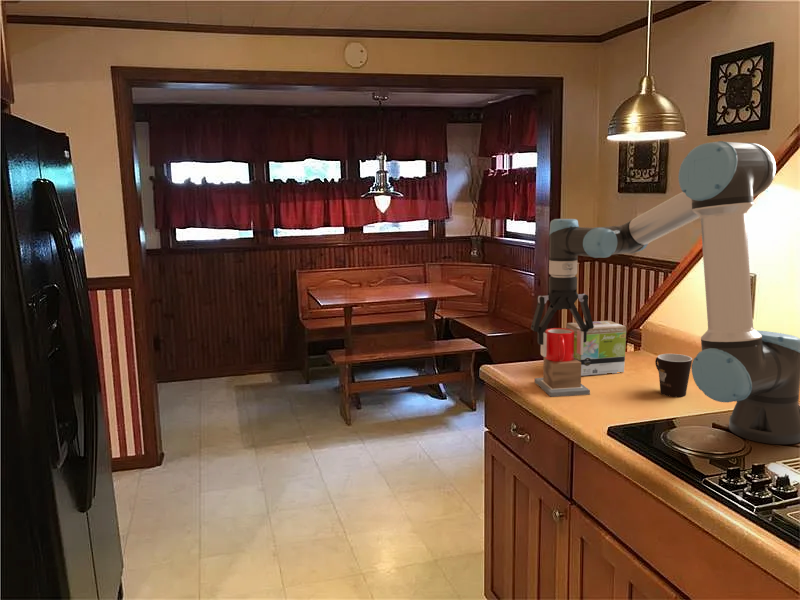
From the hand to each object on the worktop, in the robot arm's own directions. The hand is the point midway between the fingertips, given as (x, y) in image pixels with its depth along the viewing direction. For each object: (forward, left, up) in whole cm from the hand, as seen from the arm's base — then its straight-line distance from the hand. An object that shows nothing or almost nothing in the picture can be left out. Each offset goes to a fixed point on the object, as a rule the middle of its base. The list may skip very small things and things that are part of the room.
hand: (561, 354), depth 185 cm
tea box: (+15, -16, -10) cm, 24 cm away
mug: (0, 0, -2) cm, 2 cm away
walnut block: (0, 0, -8) cm, 8 cm away
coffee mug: (-9, -28, -10) cm, 31 cm away
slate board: (0, 0, -10) cm, 10 cm away
